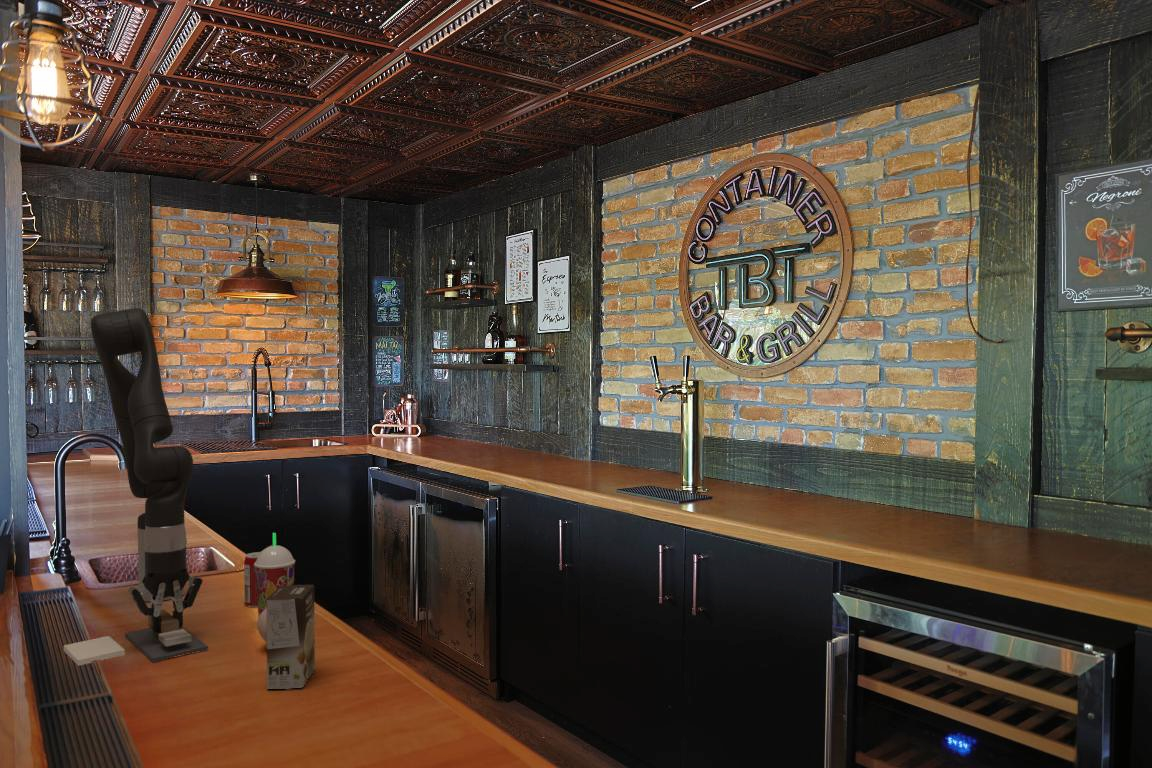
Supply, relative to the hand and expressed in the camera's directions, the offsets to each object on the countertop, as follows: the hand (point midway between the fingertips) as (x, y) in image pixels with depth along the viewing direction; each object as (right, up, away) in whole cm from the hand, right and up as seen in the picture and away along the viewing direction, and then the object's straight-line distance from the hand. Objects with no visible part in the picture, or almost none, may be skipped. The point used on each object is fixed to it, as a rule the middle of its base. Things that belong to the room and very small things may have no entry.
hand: (167, 631), depth 167 cm
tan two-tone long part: (0, -1, 0) cm, 1 cm away
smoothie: (+17, -3, +12) cm, 21 cm away
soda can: (+8, -2, +28) cm, 29 cm away
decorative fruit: (+24, -3, -2) cm, 24 cm away
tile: (-16, -3, 0) cm, 16 cm away
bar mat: (-1, -3, +1) cm, 3 cm away
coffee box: (+31, -4, -18) cm, 36 cm away
